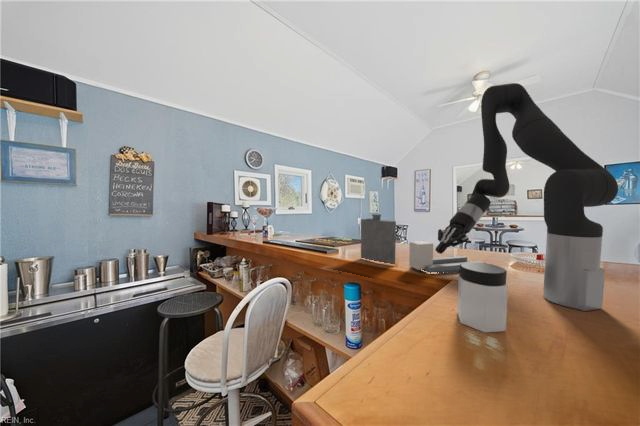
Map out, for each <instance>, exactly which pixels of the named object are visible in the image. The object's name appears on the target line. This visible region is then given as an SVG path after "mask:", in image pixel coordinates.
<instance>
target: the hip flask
mask: <svg viewBox="0 0 640 426" xmlns="http://www.w3.org/2000/svg"><path fill="white" fill-rule="evenodd" d="M371 216H372V218H360V219H361V221H360V259H361V258H365V259H369V260H374V261H379V262H384V263H390V264H395V265H396V245H397V244H396V241H397V240H396V239H397V238H396V237H397V233H396V232H397V231H396V229H397V227H396V226H397V224H396V223H397V221H396V220H386V219H385V220H384V219H381V217H382V214H379V213H378V214H377V213H374V214H373V213H372V214H371Z"/></svg>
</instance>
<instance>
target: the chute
mask: <svg viewBox="0 0 640 426" xmlns="http://www.w3.org/2000/svg"><path fill="white" fill-rule="evenodd" d="M464 262H470V260H469V261H468V256H464V255H461V256H458V255H457V256H448V257H436V258H434V257H433V266H425V269H422V270H424V271H427V272H430V273H431V272H437V273H438V272H439V273H443V272H444V273H445V274H452V273H453V272H455V273H459V268H460V264H461V263H464ZM476 262H479V263H486V262H484V261H480V260H479V261H476ZM447 272H448V273H447ZM453 274H454V273H453Z"/></svg>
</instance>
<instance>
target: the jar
mask: <svg viewBox="0 0 640 426" xmlns="http://www.w3.org/2000/svg"><path fill="white" fill-rule="evenodd" d="M458 273H459V274H458V284H457V285H458V287H457V310H456V311H457V316H458V319H459V323H461V324H463V325H465V326H467V327H470V328H473V329H475V330H477V331H480V332H482V333H497V332H498V333H499V332H506V331H507V314H508V312H507V311H508V290H509V286H508V285H507V275H508V274H507V269H505V268H504V267H502V266H498V265H495V264H491V263H486V262H485V263H479V262H477V261H469V262H464V263H461V264H460V268H459V272H458Z"/></svg>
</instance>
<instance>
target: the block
mask: <svg viewBox="0 0 640 426" xmlns="http://www.w3.org/2000/svg"><path fill="white" fill-rule="evenodd" d="M408 255H409V259H408V260H409V261H408V262H409V264H408V265H409V267H411V268H414V269H415V270H417V271H420V270H421V269H425V266H433V258H434V243H432V242H429V241H425V240H420V241H419V240H417V241H409V254H408Z"/></svg>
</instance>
